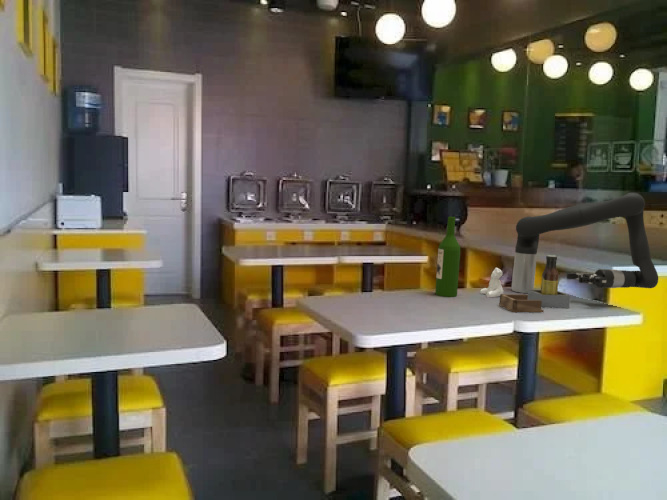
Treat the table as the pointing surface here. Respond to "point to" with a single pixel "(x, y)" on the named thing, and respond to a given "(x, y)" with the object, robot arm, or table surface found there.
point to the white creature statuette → (494, 285)
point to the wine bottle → (448, 263)
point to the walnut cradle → (519, 303)
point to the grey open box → (550, 299)
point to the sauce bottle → (550, 277)
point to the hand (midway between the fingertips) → (573, 278)
